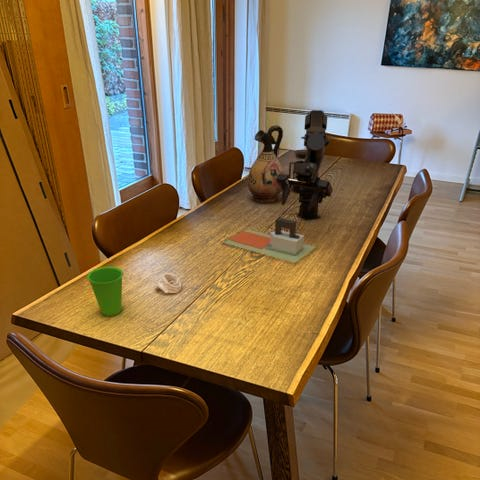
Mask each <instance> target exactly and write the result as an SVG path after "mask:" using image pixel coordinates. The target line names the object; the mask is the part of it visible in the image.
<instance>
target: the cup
mask: <svg viewBox="0 0 480 480" xmlns="http://www.w3.org/2000/svg"><path fill="white" fill-rule="evenodd" d="M123 277H124V271H123V270H122V268H119V267H116V266H102V267H97V268H94V269H93V270H91V271H90V272H88V273H87V275H86V279H87V281H89V283H90V287H91V288H92V289H91V290H92V291H93V294H94V296H95V298H96V302H97V305H98V307H99V309H100V312H101V313H102V315H103V316H105V317H106V316H107V317H113V316H116V315H119V314H120V313H121V311H122V303H123V302H122V297H123V296H122V295H123Z"/></svg>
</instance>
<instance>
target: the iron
mask: <svg viewBox="0 0 480 480" xmlns="http://www.w3.org/2000/svg"><path fill="white" fill-rule="evenodd" d="M274 221H275V222H274V231H270V234H269V235H270V243H269V244H268V245H267V246H266V249H268V250H272V251H276V252H280V253H284V254H288V255H293V256H296V255H297V254H298V253H299V252H301V251H302V250H303V244H305V243H304V242H305V241H304V240H305V235H304V234H299V233H297V220H292V219H287V218H282V217H277V218H276V219H274ZM282 229H288V230H289V231H285V230H282Z"/></svg>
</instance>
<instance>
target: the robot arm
mask: <svg viewBox="0 0 480 480" xmlns="http://www.w3.org/2000/svg"><path fill="white" fill-rule="evenodd" d="M303 128H304V131H305V133H304V136H305V137H304V136H303V137H304V139H303V147H305V146H306V147H305V149H306V154H307V155H306V158H305V160H304V159H303V161H304V163H295V164H293V167H294V168H293V167H292V174H293V173H295V177H296V178H297V179H295V178H294V179H293V178H291V177H290V175H289V173H288V174H287V173H284V174H282V173H280V174H278V175H277V178H276V181H277V183H278V185H279V187H280V188H281V189H282V191H281V206H284V207H285V204H286V203H287V200H288V198H289V196H290V194H291V192H292V185H293V186H299V187H300V193H298V195H299V196H298V203H300V204H299V206H298V208H299V209H298V213H297V216H298V217H301V218H302V219H303V220H305V221H306V220H307V221H309V220H314V219H319V218H320V215H319V213H318V212H319V204H321V203H323V202H324V201H323V200H324V199H327V197H328V198H329V197H330V198H331V196H332V194H333V190H334V189H333V187H332V184H331V182H330V180H326V179H321V178H320V177H319V170H320V168H321V166H322V162H323V160H324V157H325V155H324V153H325V148H326V147H327V146H329V144H330V138H329V136H328V134H326V131H327V128H328V115H326V114H325V110H321V109H311V110H310V111H309V113H308V114H307V115H305V116H304V127H303Z"/></svg>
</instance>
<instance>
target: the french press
mask: <svg viewBox="0 0 480 480" xmlns="http://www.w3.org/2000/svg"><path fill="white" fill-rule="evenodd" d="M304 137H305V135H304V136H300V139H301V140H304ZM293 152H294V157H295V158H296V159H299V160H295V161H290V162H289V164H288V165H289V166H288V175H290V177H291V176H292V179H294V180H297V178H296V177H295V173H293V172H292V169H293V168H294V166H293V167H292V165H294V164H295V163H304V160H305V158H306V155H307V154H306V146H304V148H303V149H302V148H301V149H295V150H294V151H293ZM291 192H293V193H296V194H300V187H299V186H293V185H292V187H291Z"/></svg>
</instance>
